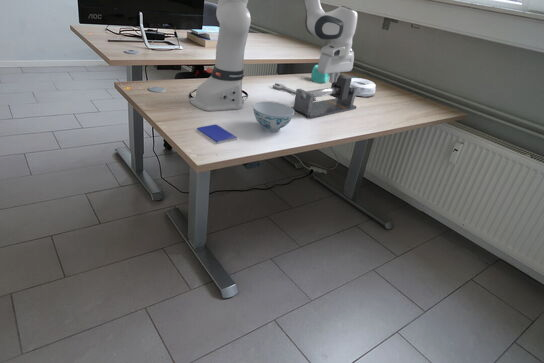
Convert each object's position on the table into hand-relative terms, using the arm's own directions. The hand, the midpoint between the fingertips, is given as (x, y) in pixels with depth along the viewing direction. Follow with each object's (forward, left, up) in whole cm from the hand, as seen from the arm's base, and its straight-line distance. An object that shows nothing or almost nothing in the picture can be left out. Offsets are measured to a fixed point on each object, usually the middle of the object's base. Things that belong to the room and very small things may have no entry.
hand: (332, 82), depth 164 cm
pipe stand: (-2, 0, -12) cm, 12 cm away
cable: (+38, +10, -12) cm, 42 cm away
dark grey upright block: (+6, 0, -7) cm, 10 cm away
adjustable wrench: (0, +22, -12) cm, 25 cm away
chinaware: (-40, -6, -12) cm, 43 cm away
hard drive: (-62, -2, -13) cm, 63 cm away
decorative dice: (+33, +33, -12) cm, 48 cm away
